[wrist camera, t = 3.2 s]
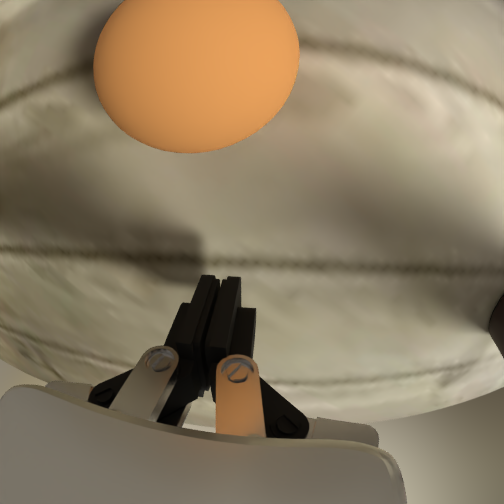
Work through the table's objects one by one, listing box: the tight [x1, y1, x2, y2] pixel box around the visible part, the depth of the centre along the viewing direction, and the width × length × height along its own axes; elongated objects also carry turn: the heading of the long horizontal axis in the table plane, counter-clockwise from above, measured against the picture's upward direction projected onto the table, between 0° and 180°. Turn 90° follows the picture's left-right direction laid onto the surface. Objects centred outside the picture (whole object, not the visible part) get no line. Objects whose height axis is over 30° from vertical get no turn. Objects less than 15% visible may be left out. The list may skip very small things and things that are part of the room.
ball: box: [93, 0, 300, 153], centre depth 7 cm, size 6×6×6 cm
